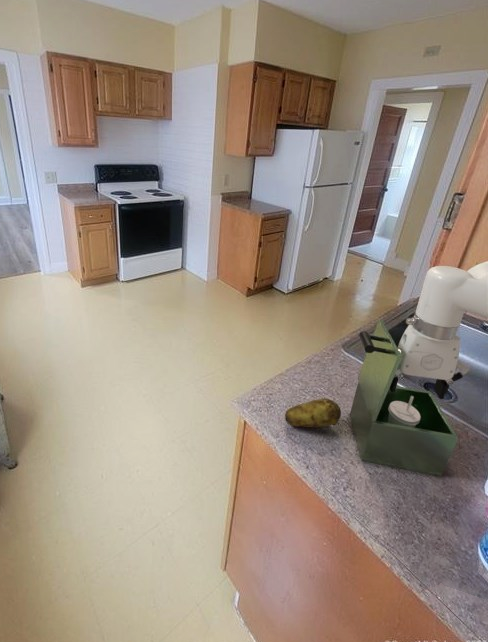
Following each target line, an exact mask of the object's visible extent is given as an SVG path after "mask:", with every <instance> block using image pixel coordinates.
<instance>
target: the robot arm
mask: <svg viewBox="0 0 488 642" xmlns="http://www.w3.org/2000/svg"><path fill="white" fill-rule="evenodd" d="M465 312H466V313H470V314H473V315H476V316H479V317H482V318H486V319H488V260H487V261H483V262H481V263H479V264H476V265H474V266H472V267H471V268H469V269H468V270H465V269H463V268H460V267H455V266H449V265H435V266H432V267H431V268H429V269H428V271H427V272H426V274H425V277H424V281H423V285H422V288H421V292H420V295H419V298H418V302H417V307H416V309H415V313H413V316H412V317H406V319H405V323H406V324H407V327H406V328H405V330H404V332H403V334H402V336H401V338H400V340H399V343H398V345H397V348H398V350H399V352H400V353H401V355H402V359H401V361H400V364H399V366H398V369H397V371H396V373H395V376H394V378H393V380H392V383H391V385H390V388H389V389H390V391H391V392H395V390H396V386H398V382H399V377H398V376H400V375H402V374H404V375H406V376H412V377H418V378H427V379H434V380H435V383H434V387H433V391H434V393H435V394H436V396H437V398H438V399H439V400H444V399H445V396H446V395H447V393H448V391H449V388H450V386H453V385H454V384H455V382H457V381H458V380H462V378H464V376H465V375H466V374H467V373H468V372H470V371H471V367H470V366H469V365H468V364H467V363H466V362H464V361H462V360H460V358H459V357H460V349H461V337H460V336H459V334H458V331H459V328H460V326H461V322H462V319H463V317H464V315H465ZM379 357H380V355H379ZM380 359H381V357H380Z"/></svg>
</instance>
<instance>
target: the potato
mask: <svg viewBox="0 0 488 642" xmlns="http://www.w3.org/2000/svg"><path fill="white" fill-rule="evenodd" d="M284 414H285V415H284V419H285V420H284V421H285V422H286V423H287V424H288V425H290V426H292V427H296V428H297V427H305V428H320V427H326V426H336V425H337V424H338V423H339V421H340V418H341V416H342V410H341V407H340V405H339V404H338V403H336V402H335V401H334V400H332V399H330V398H325V397H324V398H323V397H322V398H318V399H314V400H310V401H308V402H305V403H301V404H297V405H294V406H292V407H290V408H288V409H287V410H286V411H285V413H284Z"/></svg>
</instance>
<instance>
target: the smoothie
mask: <svg viewBox="0 0 488 642" xmlns="http://www.w3.org/2000/svg"><path fill="white" fill-rule="evenodd" d="M413 398H414V397H413V396H411V397H410V400H409V403H408V404H407V403H405V402H401V401H393V402H391V403H390V406H389V408H388V409H389V419H388V423H390V424H396V425H402V426H407V427H413V428H414V427H415V425H417V424H418V423H419V422H420V418H421V417H420V414H419V412H418V411H417V410H416V409H415V408H414V407H413V406H411V403H412V401H413Z"/></svg>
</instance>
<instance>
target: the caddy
mask: <svg viewBox="0 0 488 642" xmlns="http://www.w3.org/2000/svg"><path fill="white" fill-rule="evenodd" d="M357 381H358V380H357ZM356 385H357V386H356V389H355V393H354V395H353V396H354V397H353V401H352V405H351V409H350V412H349V417H350V421H351V425H352V429H353V433H354V436H355V441H356V445H357V449H358V452H359V457H360V461H362V462H367V463H372V464H377V465H382V466H387V467H391V468H396V469H397V468H398V469H402V470H406V471H412V472H417V473H421V474H426V475H432V476H437V477H442V476H443V473H444V471H445V470H446V468H447V465H448V462H449V460H450V458H451V456H452V454H453V451H454V449H455V447H456V445H457V443H458V441H459V436H458V435H457V433H456V431H455V430H454V428H453V426H452V424H451V423H450V422H449V420H448V418H447V416H446V414H445V413H444V411H443V410H442V408H441V406H440V405H439V403H438V401H437V399H436V398H435V396H434V395H433V393H432V391H430V390H424V389H417V388H412V387H403V386H399V385H397V386H396V390H395V392H391V391H390V389H389V390H388V392H387V395H386V397H385V399H384V402H383V404H382V407H381V409H380V411H379V414H378V416H377V419H376V421H375V422H374V421H371V418H370V415H369V412H368V409H367V406H366V403H365V400H364V397H363V394H362V391H361V388H360V384H359V381H358V382H357V384H356ZM411 396H413V397H414V398H413V401H412V403H411V406H413V407H414V408H415V409H416V410H417V411H418V412H419V414H420V417H421V418H420V422H419V423H418V424H417V425H415V427H414V428H413V427H407V426H402V425H396V424H390V423H388V419H389V409H388V408H389V406H390V403H391V402H393V401H401V402H405V403H407V404H408V403H409V400H410V397H411Z"/></svg>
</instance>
